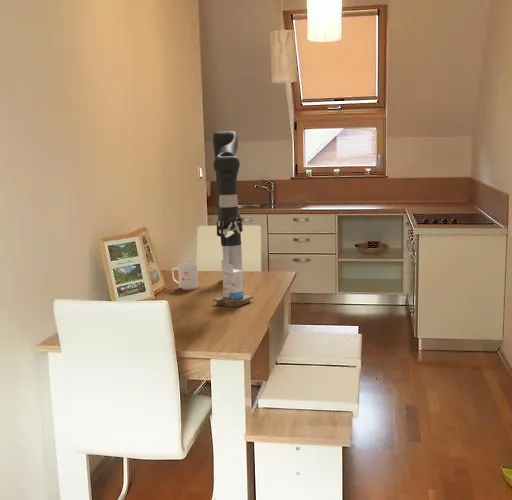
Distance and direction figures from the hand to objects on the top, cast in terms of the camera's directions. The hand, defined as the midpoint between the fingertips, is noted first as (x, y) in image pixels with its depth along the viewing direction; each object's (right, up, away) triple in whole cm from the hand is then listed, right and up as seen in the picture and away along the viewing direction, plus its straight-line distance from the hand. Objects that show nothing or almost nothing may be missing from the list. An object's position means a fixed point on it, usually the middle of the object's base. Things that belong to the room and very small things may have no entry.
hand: (230, 244), depth 280 cm
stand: (+1, -25, +4) cm, 25 cm away
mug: (-22, -20, +37) cm, 48 cm away
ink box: (+1, -22, +4) cm, 23 cm away
